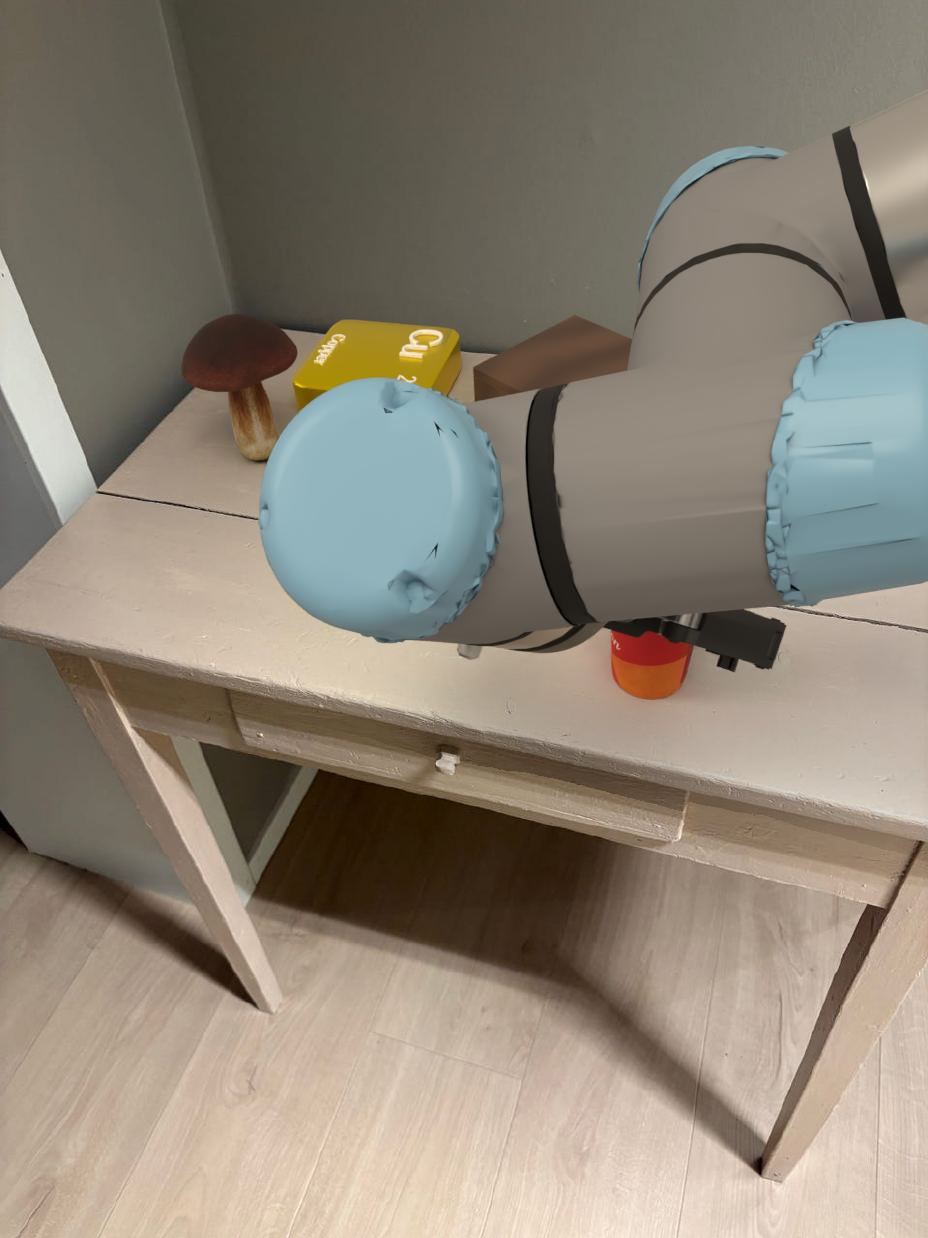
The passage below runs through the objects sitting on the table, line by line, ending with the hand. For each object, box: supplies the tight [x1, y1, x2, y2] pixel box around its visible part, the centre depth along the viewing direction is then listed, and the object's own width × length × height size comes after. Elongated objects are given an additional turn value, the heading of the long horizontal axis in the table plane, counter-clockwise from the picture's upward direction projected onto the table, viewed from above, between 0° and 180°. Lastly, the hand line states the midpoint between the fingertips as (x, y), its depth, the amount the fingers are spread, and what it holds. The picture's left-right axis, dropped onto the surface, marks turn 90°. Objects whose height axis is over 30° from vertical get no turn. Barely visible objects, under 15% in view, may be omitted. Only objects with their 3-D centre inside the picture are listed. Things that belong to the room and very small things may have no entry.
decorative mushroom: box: [180, 313, 299, 462], centre depth 92 cm, size 11×11×15 cm
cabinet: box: [472, 314, 633, 402], centre depth 91 cm, size 15×14×10 cm
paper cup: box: [610, 630, 695, 700], centre depth 68 cm, size 8×8×14 cm
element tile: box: [292, 319, 462, 414], centre depth 103 cm, size 15×15×5 cm
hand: (626, 602), depth 61 cm, fingers open, 13 cm apart
